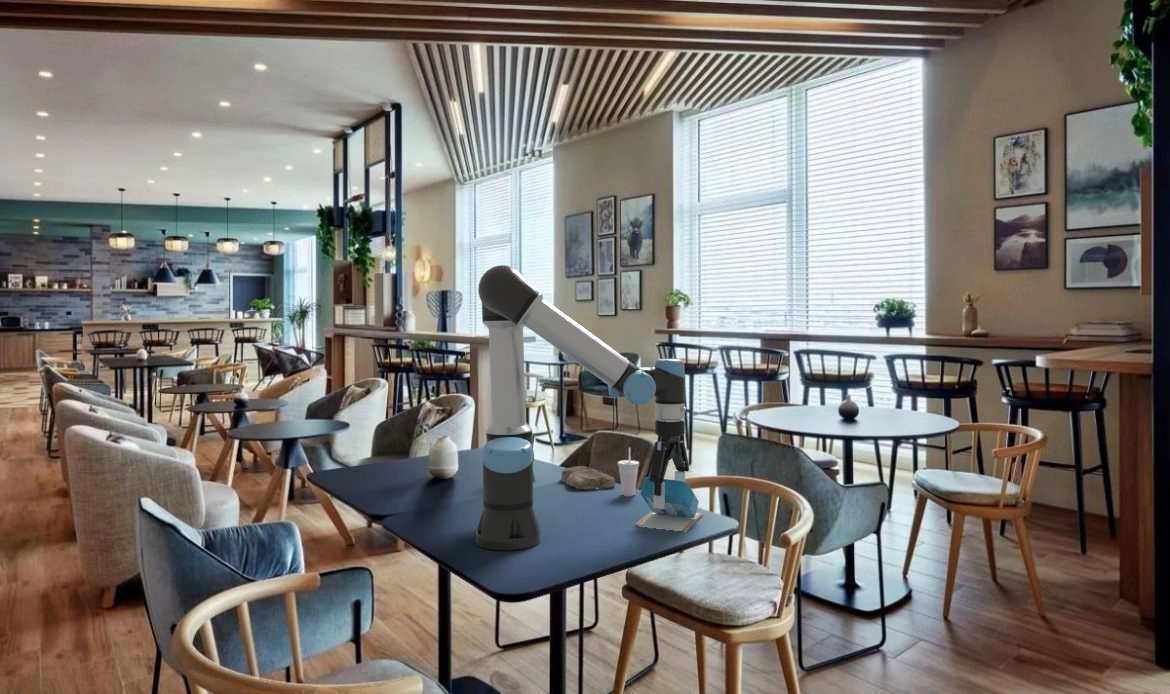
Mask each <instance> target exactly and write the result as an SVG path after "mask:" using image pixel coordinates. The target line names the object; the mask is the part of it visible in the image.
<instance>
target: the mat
mask: <svg viewBox="0 0 1170 694" xmlns="http://www.w3.org/2000/svg"><path fill="white" fill-rule="evenodd" d="M702 517H704V513H703V512H696V515H695V517H694V518H684V517H677V516H669V515H662V514H656V513H654V512H653V511H652V510H651V511H650V512H649V513H647V514H646V515H645V516H643V517H642V518H641V519H639V520H638V521H636V522H635V523H634V527H637V526H638V528H645V527H647V528H646V529H653V528H656V529H655V530H661V529H665V530H664V531H669V530H674V531H673V532H677V531H686V530H688V529H689V528H690V527H691V526H692V525H693V524H694V523H695V522H696V521H697V520H698V519H699V518H700V519H702ZM700 519H699V520H700ZM699 520H698V521H699ZM698 521H697V522H698ZM697 522H696V523H697ZM696 523H695V524H696ZM695 524H694V525H695ZM694 525H693V526H694ZM693 526H692V527H693ZM692 527H691V528H692ZM691 528H690V529H691ZM690 529H689V530H690ZM689 530H688V531H689ZM686 532H687V531H686Z"/></svg>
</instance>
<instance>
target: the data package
mask: <svg viewBox="0 0 1170 694" xmlns="http://www.w3.org/2000/svg"><path fill="white" fill-rule="evenodd" d="M649 477H650V476H648V477H645V478H644V480H643V484H642V486H641V489H640V490H641V491H640V495H641V498H643V500H644V502H645V504H646V505H647V506H648V507H649V509H650V510H651V511H653V512H654V513H656V514H662V515H669V516H677V517H684V518H694V517H695V515H696V513H697V510H698V507H699V500H698V498H697V496H696V495H695V493H694V491H693V489H692V487H691V486H690V484H689V483H688V482H686V481H685V482H684V481H679V480H675V479H669V478H664V480H663V482H665V509H659V508H654V482H650V481H649Z"/></svg>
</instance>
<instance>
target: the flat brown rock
mask: <svg viewBox="0 0 1170 694" xmlns="http://www.w3.org/2000/svg"><path fill="white" fill-rule="evenodd" d="M560 478H561V481H562V483H564V482H565V483H567V484H568V485H570V486H569V487H573V488H575V489H576V490H585V489H596V488H601V489H610V488H612V487H613V488H615V485H616V479H615V478H614V476H611V475H609V474H606V473H605V472H603V471H602V470H598V469H595V468H591V467H588V466H585V465H577V466H576V465H575V466H570V467H567V468H564V469H563V471H562V472H561V477H560ZM565 483H564V484H565ZM568 485H567V486H568Z"/></svg>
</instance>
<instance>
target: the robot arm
mask: <svg viewBox="0 0 1170 694" xmlns="http://www.w3.org/2000/svg"><path fill="white" fill-rule="evenodd" d="M477 289H478V296H479V299H480V301H481V317H482V318H481V319H482V320H481V321H482V322H481V323H482V324H483V325H484V326H485V327H486V328H487V329H488V344H489V345H488V346H489V375H490V376H489V377H490V379H489V380H490V400H491V401H490V403H491V407H490V408H491V424H490V426H489V427H488V428H487V429H486V430H485V431H486V432H485V435H486V439H485V440H486V441H485V444H484V445H483V447H482V454H481V462H482V484H483V485H482V492H483V494H482V501H483V502H482V503H483V504H482V505H483V507H482V512H481V514H480V515H481V516H480V519H479V522H478V525H477V528H476V532H475V543H476V545H477V546H479V547H480V548H483V549H486V550H493V551H517V550H524V549H528V548H532V547H534V546H536V545H538V544H539V543H540V542H541V540H542V538H541V537H542V532H541V527H540V523H539V521H538V518H537V516H536V512H535V509H534V482H533V472H534V463H535V452H534V445H533V435H532V434H533V428H532V426H531V425H529V424H528V422H527V415H526V414H527V412H526V411H527V410H526V409H527V408H526V405H527V404H526V381H525V379H526V377H525V375H526V374H525V350H524V349H525V347H524V344H525V343H524V328H525V327H526V328H527V329H529V330H531V331H532V332H533V333H534V334H535V335H538V336H539V337H541V338H542V339H543V340H545V341H546V342H548V343H549V344H551V346H553V347H555V349H558V351H560V352H561V353H563V354H565V355H566V356H567V357H568V358H570V359H571V360H573V361H574V362H576V363H577V364H579V365H580V366H581V367H583V369H585V370H586V371H588V372H590V374H592V375H594V376H595V377H597V378H598V379H600V380H601V381H602V382H603V383H605V384H606V385H607V387H608V394H609V396H610V397H612V398H613V397H614V398H620V399H621V398H625V399H626V400H627V401H629V402H630V403H632V404H633V405H645V404H647V403H649V402H650V401H652V400H653V399H655V401H654V418H656V420H655V422H654V431H655V432H654V433H655V434H656V435H657V436H659V437H660V441H655V442H654V450H653V457H652V462H651V467H650V472H649V476H648V477H649V481H650V482H654V508H659V509H665V482H663V480H664V479H665V476H666V474H667V473H666V472H667V469H668V466H669V462H670V460H672V462H673V464H674V468H675V469H676V470H675V471H674V480H679V481H684V482H686V472H689V471H690V467H689V466H690V463H689V460H688V459H689V458H688V453H687V448H686V444H685V434H686V433H685V432H686V421H685V420H683V419H685V412H686V411H687V407H685V406H686V404H685V402H686V401H685V398H686V397H685V395H686V392H685V391H686V389H685V388H686V374H685V373H686V371H685V370H686V368H685V363H684V361H683V360H682V359H679V358H658V359H656V360H655V362H654V363H655V364H654V365H653V366H648V367H643V366H642V367H641V366H640V367H639V366H637V365H636V364H634V363H632V362H631V361H630V360H629V359H627V358H626V357H625V356H623V355H622V354H620V353H619V352H617V351H616V350H615V349H613V348H612V347H610V346H609V345H608V344H607V343H605V342H603V341H602V340H601V339H600V338H598V337H596V336H595V335H594V334H593V333H591V332H590V331H588V329H586V328H584V327H583V326H582V325H580V324H579V323H577V322H576V321H575V320H573V319H572V318H571V317H570V316H568V315H566V314H565V313H563V312H562V311H561V310H560V309H558V308H557V307H556V306H554V305H552V304H551V303H549V302H548V301H547V300H546V299H544V297H543V292H542V291H541V290H539V289H538V288H537V287H535V286H534V285H533V284H531V283H530V281H528V279H526V278H525V276H524V275H523V274H522V273H521V272H520V271H519V270H517V269H516V268H515V267H512V266H509V265H505V264H504V265H503V264H502V265H495V266H493V267H491V268H489V269H487V270H486V272H484V273H483V274H482V276H481V277H480V280H479V283H478V288H477Z"/></svg>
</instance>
